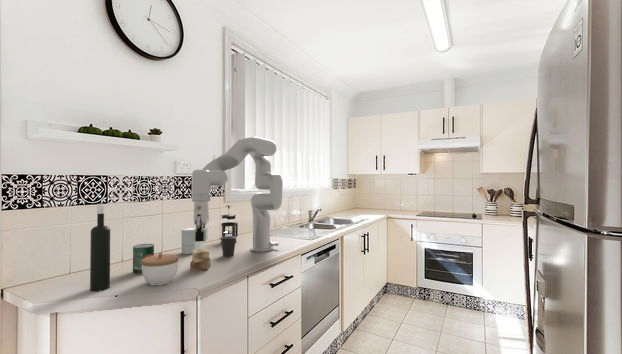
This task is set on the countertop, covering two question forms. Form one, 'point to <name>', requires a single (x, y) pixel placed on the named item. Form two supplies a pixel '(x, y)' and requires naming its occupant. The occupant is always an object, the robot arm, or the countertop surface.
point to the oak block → (200, 255)
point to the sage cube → (204, 235)
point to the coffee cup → (228, 245)
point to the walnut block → (200, 265)
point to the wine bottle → (100, 253)
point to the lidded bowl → (159, 268)
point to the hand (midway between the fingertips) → (200, 239)
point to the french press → (229, 224)
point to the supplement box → (189, 241)
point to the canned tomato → (141, 256)
